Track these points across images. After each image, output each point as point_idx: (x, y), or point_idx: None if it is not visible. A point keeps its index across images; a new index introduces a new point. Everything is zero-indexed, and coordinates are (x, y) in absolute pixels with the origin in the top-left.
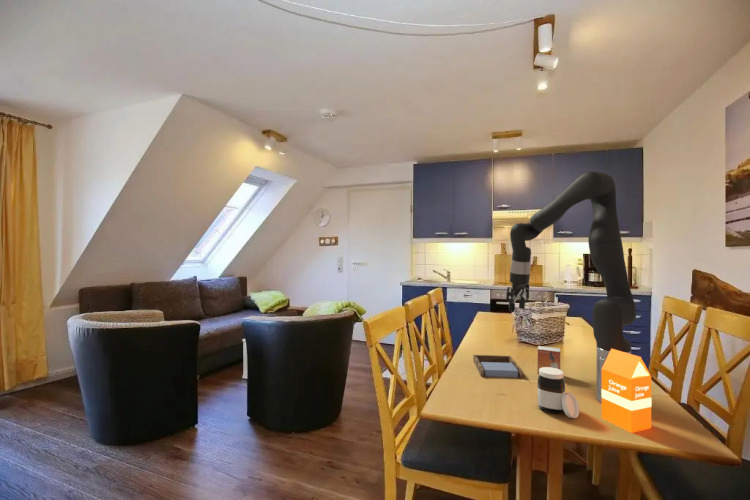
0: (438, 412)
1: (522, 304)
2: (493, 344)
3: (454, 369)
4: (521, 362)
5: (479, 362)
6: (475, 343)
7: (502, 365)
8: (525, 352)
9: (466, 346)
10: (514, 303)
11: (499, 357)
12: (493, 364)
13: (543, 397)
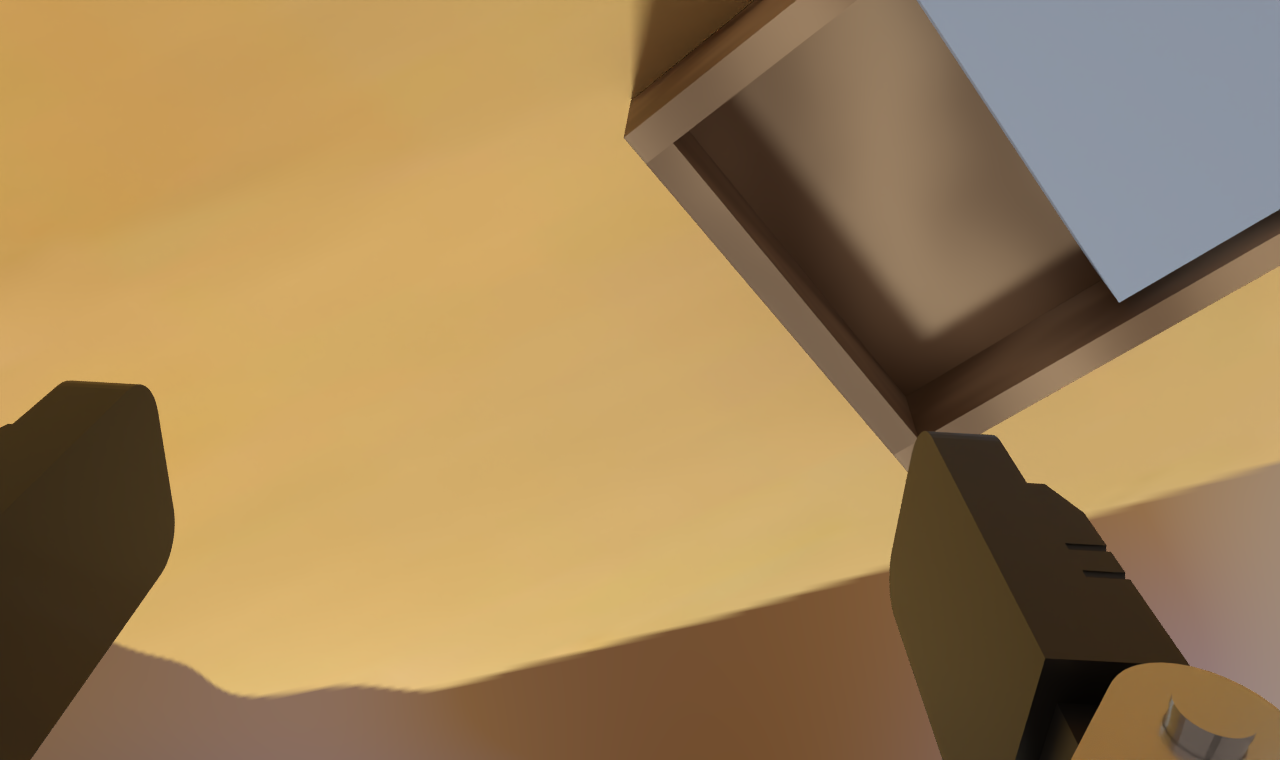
0: None
1: (68, 536)
2: None
3: (1222, 454)
4: (450, 19)
5: (1173, 299)
6: (249, 673)
7: (1112, 29)
8: (17, 162)
9: (419, 684)
10: (1086, 670)
11: (747, 227)
12: (1134, 142)
13: None
